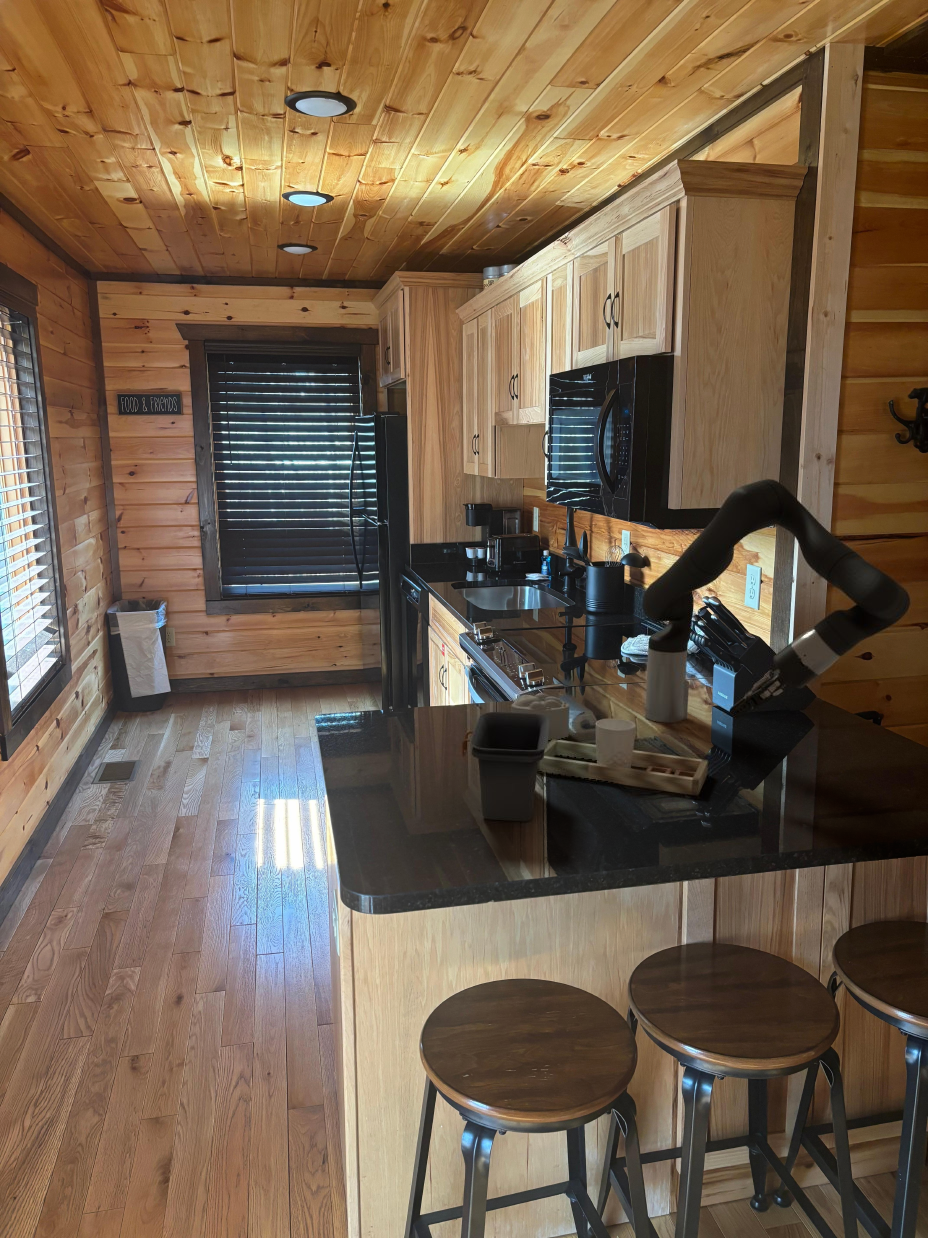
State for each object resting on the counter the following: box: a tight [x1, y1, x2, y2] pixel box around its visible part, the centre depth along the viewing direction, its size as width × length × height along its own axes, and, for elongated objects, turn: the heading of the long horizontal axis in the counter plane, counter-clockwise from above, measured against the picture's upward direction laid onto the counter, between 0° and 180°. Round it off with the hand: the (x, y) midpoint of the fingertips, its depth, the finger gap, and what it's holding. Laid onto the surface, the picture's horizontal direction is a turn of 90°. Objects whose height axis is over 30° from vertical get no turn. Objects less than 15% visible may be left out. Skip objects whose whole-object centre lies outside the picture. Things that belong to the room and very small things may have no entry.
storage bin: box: [461, 711, 550, 822], centre depth 162 cm, size 21×16×14 cm
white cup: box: [595, 718, 637, 769], centre depth 179 cm, size 8×8×10 cm
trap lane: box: [537, 739, 709, 797], centre depth 179 cm, size 32×12×3 cm, turn 67°
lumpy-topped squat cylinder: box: [510, 692, 570, 740], centre depth 203 cm, size 10×13×9 cm
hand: (732, 714), depth 169 cm, fingers closed
